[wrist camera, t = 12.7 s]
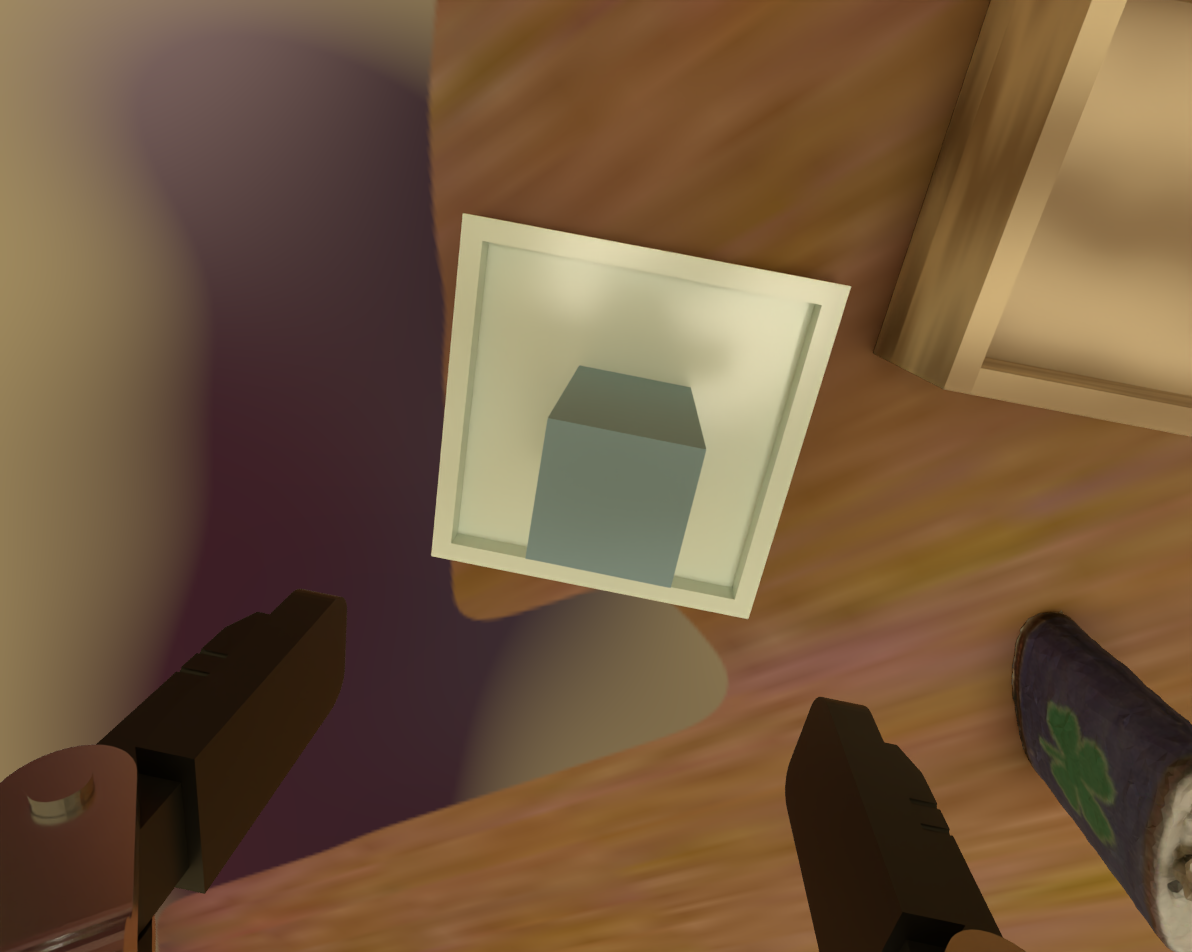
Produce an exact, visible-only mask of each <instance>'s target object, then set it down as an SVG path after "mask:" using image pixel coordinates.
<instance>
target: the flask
mask: <svg viewBox="0 0 1192 952" xmlns="http://www.w3.org/2000/svg"><path fill="white" fill-rule="evenodd" d="M1015 647H1016V649H1015V658H1014V663H1013V667H1012V668H1013V669H1014V670H1013V674H1012V678H1013V679H1012V683H1011V684H1012V685H1013V699H1014V701H1015V704H1016V705H1015V706H1016V709H1015V710H1016V715H1017V721H1018V726H1019V730H1020V731H1019V732H1020V733H1019V735H1020V736H1021V737H1020V738H1021V741H1022V746H1023V749H1024V750H1025V753H1026V754H1027V757H1028V760H1029V761H1030V763H1031V764H1032V766H1033V768H1034V769H1035V771H1036V772H1037V773H1038V775H1039V776H1040V777H1041V778H1042V779H1043V780H1044V781H1045V782H1046V784H1047V785H1048V787H1049V788H1050V789H1051V791H1052V792H1053V794H1054V795H1055V797H1056V798H1057V800H1058V801H1059V802H1060V804H1061V805H1062V806H1063V808H1064V809H1065V810H1066V811H1067V813H1068V814H1069V815H1070V816H1071V817H1072V818H1073V820H1074V821H1075V823H1076V824H1077V826H1078V827H1079V828H1080V830H1081V831H1082V832H1083V834H1084V835H1085V836H1086V838H1087V840H1088V842H1089V843H1090V844H1091V845H1092V846H1093V847H1094V849H1095V850H1096V851H1097V853H1098V854H1099V855H1100V857H1101V858H1102V860H1103V861H1104V863H1105V864H1106V865H1107V867H1108V868H1109V870H1110V871H1111V872H1112V874H1113V875H1114V876H1115V878H1116V879H1117V880H1118V881H1119V883H1120V884H1121V885H1122V887H1123V888H1124V889H1125V891H1126V892H1127V894H1128V895H1129V896H1130V898H1131V899H1132V901H1133V902H1134V904H1135V906H1136V908H1137V909H1138V910H1139V911H1140V913H1141V914H1142V915H1143V916H1144V918H1145V919H1146V920H1147V922H1148V923H1149V925H1150V926H1151V928H1152V929H1153V931H1154V932H1155V933H1156V935H1157V936H1158V937H1159V938H1160V940H1161V941H1162V942H1163V943H1164V944H1165V946H1166V947H1167V948H1169V949H1170V950H1172V951H1175V952H1192V725H1191V724H1190V722H1189V721H1188V720H1186V719H1185V718H1184V717H1183V716H1181V715H1180V714H1178V713H1177V712H1176V711H1175V710H1174V709H1172V708H1171V707H1170V706H1169V705H1168V704H1167V703H1165V702H1164V701H1163V700H1162V699H1161V698H1160V696H1158V695H1157V694H1155V693H1154V692H1153V691H1152V690H1151V689H1149V688H1148V687H1146V685H1145V684H1143V682H1142V681H1141V680H1140V679H1139V678H1138V677H1137V676H1136V675H1135V674H1134V673H1133V672H1132V671H1131V670H1130V669H1129V668H1128V667H1127V666H1125V665H1124V664H1123V663H1121V662H1120V661H1118V660H1117V659H1115V658H1114V657H1113V656H1112V655H1111V654H1109V653H1108V652H1107V651H1106V650H1104V649H1103V648H1102V647H1101V646H1100V645H1099V644H1098V643H1097V642H1096V641H1094V640H1093V639H1091V638H1090V637H1089V636H1088V635H1087V634H1086V633H1085V632H1084V631H1083V630H1082V629H1081V628H1080V627H1079V626H1078V625H1077V624H1076V623H1075V622H1074V621H1073V620H1072V619H1071V618H1070V617H1068V616H1067V615H1064V614H1063V612H1062V611H1060V612H1050V613H1042V614H1037V615H1035V616H1034V617H1032V618H1029V619H1028V620H1027V622H1026V624H1025V625H1024V626H1023V627H1022V628H1021V630H1020V635H1019V637H1018V639H1017V643H1016V646H1015Z"/></svg>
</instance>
